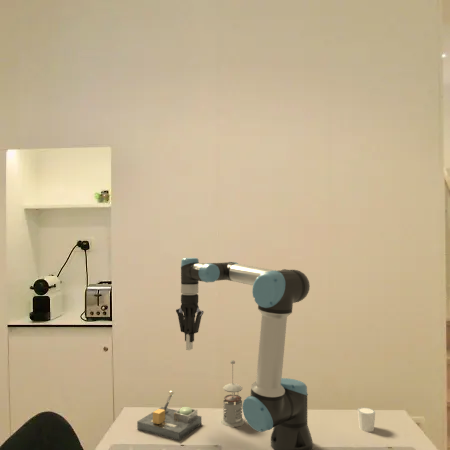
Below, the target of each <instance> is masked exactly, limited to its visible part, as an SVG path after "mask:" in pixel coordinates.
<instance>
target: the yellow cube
mask: <svg viewBox="0 0 450 450" xmlns="http://www.w3.org/2000/svg"><path fill="white" fill-rule="evenodd" d="M163 421H165V410H163V409H159V408H158V409H156V410H155V411H153V423H156V424H160V423H162V422H163Z"/></svg>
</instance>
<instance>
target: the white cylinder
mask: <svg viewBox="0 0 450 450" xmlns="http://www.w3.org/2000/svg"><path fill="white" fill-rule="evenodd" d="M356 411H357V419H358V428H359V430H360V431H364V432H366V433H367V432H368V433H372V432H374V431H375V420H376V410H375V409H373V408H369V407H364V406H363V407H358V408H357V409H356Z"/></svg>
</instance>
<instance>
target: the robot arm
mask: <svg viewBox="0 0 450 450" xmlns="http://www.w3.org/2000/svg"><path fill="white" fill-rule="evenodd" d="M199 261H200V260H199V257H183V258H182V259H181V262H180V293H181V294H180V304H181V305H180V307H179V308H177V309H176V310H175V312H176V314H177V318H178V322H179V328H180V332H181V333H183V334H184V342H186V343H185V350H186V351H191V350H193V346H194V344H193V343H194V342H195V334H197V333H199V330H200V327H201V326H200V325H201V320H202V317H203V315H204V313H205V312H204V310H201V309H200V307H199V282H205V283H215V282H217V281H230V282H234V283H235V282H236V283H240V284H246V285H250V286H252V291H251V292H252V298H254V302H255V304H256V305H257V310H258V311H259V312H260V313H261V321H260V332H259V333H260V334H259V342H258V343H259V345H258V356H257V368H256V376H255V377H256V378H255V381H254V382H253V383H252V384H251V386H250V395H248V396H247V397H245V399H244V400H243V401H242V414H243V417H244V418H245V420H246V422H247V424H248V425H249V426H250V428H251V429H252V430H255V431H257V432H260V433H263V432H266V431H271V430H272V432H271V434H270V446H271V448H272V449H273V450H313V445H314V444H313V437H312V434H311V432H310V429H309V425H308V395H309V394H308V386H307V385H306V383H305V382H304V381H301V380H298V379H294V378H289V377H288V378H285V377H283V367H284V358H285V357H284V355H285V345H286V334H287V323H288V322H287V321H288V317H289V316H290V315H292V314H293V306H294V304H297V303H299V302H302V301H303V300H304V299H306V297H307V296H308V295H309V292H310V289H311V288H310V281H309V278H308V277H307V275H306V274H305V273H304V272H302V271H301V270H298V269H285V268H283V269H281V270H276V269H275V270H274V269H269V268H265V267H258V266H253V265H252V266H251V265H246V264H241V263H238V262H235V261H228V262H207V263H206V262H205V263H204V262H202V263H201V262H199Z"/></svg>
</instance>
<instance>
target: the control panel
mask: <svg viewBox="0 0 450 450" xmlns="http://www.w3.org/2000/svg"><path fill="white" fill-rule="evenodd" d="M183 407H184V406H183ZM183 407H181V408H183ZM158 409H164V406H161V407H159V408H158ZM153 412H154V411H153ZM153 412H151V413H149V414H148V415H145V416H144V417H142V418H141V419H139V420H137V423H136V424H137V425H136V428H137V430H140V431H142V432H146V433H150V434H154V435H156V436H157V435H158V436H160V437H163V438H164V437H165V438H167V439H172V440H174V441H178V442H180V441H181V440H182V439H184V438H185V437H186V436H187V435H189V434H191V432H193V431H194V430H196V429H197V428H199V426H201V425H202V416H201V415H198V409H195V408H192V413H191V414H189V415H184V414H180V408H179V409H172V408H170V407H169V408H168V407H167V409H166V411H165V421H163V422H162V423H160V424H156V423H153Z"/></svg>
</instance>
